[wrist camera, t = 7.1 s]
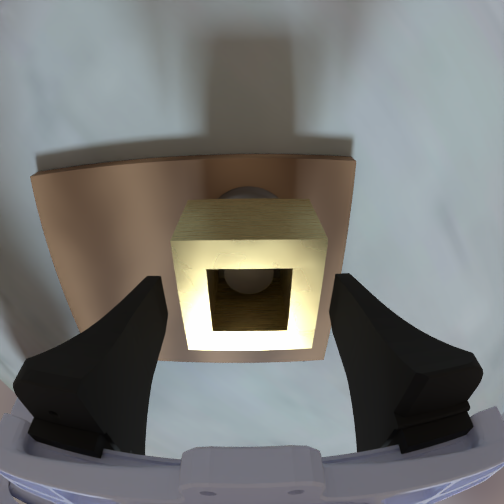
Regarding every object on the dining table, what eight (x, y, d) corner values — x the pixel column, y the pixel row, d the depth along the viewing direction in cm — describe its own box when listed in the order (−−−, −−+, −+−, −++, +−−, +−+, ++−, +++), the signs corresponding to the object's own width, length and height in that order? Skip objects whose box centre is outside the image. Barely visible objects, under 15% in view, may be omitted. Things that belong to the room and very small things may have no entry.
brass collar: (198, 295, 18) (188, 349, 14) (188, 199, 15) (170, 240, 11) (300, 294, 18) (311, 348, 14) (309, 198, 15) (328, 239, 11)
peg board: (93, 346, 26) (72, 398, 20) (38, 171, 17) (-17, 208, 12) (321, 350, 26) (334, 409, 21) (350, 156, 18) (391, 191, 12)
